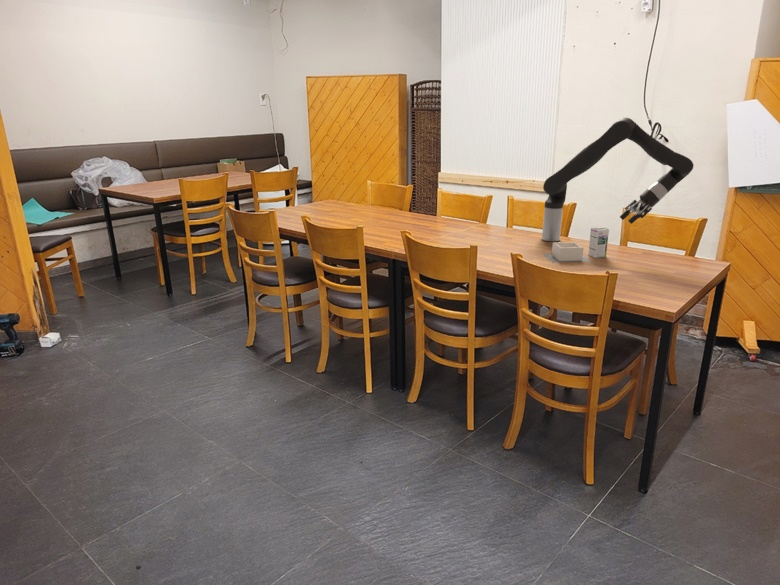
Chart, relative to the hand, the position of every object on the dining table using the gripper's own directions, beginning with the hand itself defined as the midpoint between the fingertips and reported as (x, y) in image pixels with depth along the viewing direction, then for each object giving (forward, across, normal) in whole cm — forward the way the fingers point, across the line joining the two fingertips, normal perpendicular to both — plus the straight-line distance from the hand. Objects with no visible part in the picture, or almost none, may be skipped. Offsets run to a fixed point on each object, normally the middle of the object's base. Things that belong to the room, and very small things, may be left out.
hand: (625, 220), depth 249 cm
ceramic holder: (+30, +2, -7) cm, 31 cm away
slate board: (+31, +2, -6) cm, 32 cm away
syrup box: (+21, 0, +5) cm, 21 cm away
